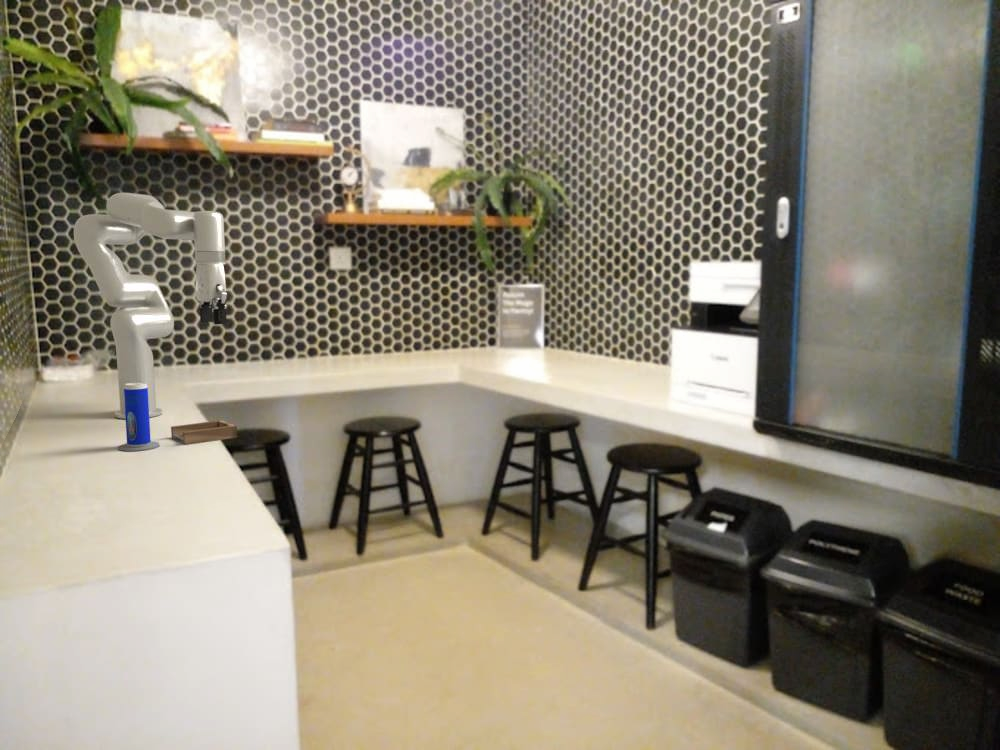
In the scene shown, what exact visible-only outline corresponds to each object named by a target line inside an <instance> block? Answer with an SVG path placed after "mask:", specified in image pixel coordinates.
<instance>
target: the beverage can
mask: <svg viewBox="0 0 1000 750" xmlns="http://www.w3.org/2000/svg"><path fill="white" fill-rule="evenodd" d="M124 401H125V418H126V419H125V430H126V432H125V433H126V434H125V435H126V443H127V444H128V446H130V447H143V446H147V445H149V444H150V442H151V441H152V440H151V426H150V425H151V424H150V417H149V403H148V387H147V384H146V383H127V384H125V386H124Z"/></svg>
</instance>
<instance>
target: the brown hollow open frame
mask: <svg viewBox="0 0 1000 750" xmlns="http://www.w3.org/2000/svg"><path fill="white" fill-rule="evenodd" d="M237 428H238V427H237V425H235V424H233V423H231V422H228V421H225V420H223V419H221V420H211V421H205V422H196V423H189V424H180V425H173V426H170V429H171V430H170V431H171V433H170V435H171V439H172V440H175V441H176V442H178V443H181V444H183V445H184V446H188V445H194V444H201V443H207V442H213V441H215V442H216V441H222V440H229V439H235V438H238V429H237Z"/></svg>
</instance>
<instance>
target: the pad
mask: <svg viewBox="0 0 1000 750" xmlns="http://www.w3.org/2000/svg"><path fill="white" fill-rule="evenodd" d="M159 447H160V443H159V442H157V441H154V440H153V441H152V440H151V442H150V444H149V445H147V446H143V447H130V446H128V444H127V442H126V443H123V444H119V445H118V447H117V449H118V451H121V452H129V453H131V452H143V451H149V450H154V449H157V448H159Z"/></svg>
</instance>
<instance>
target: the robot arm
mask: <svg viewBox="0 0 1000 750" xmlns="http://www.w3.org/2000/svg"><path fill="white" fill-rule="evenodd" d="M105 207H106V210H107V213H108V214H100V213H91V214H86V215H82V216H80V217H79V218H78V219H77V220H76V221H75V223H74V226H73V239H74V244H75V246H76V248H77V251H78V253H79V254H80V255H81V256H80V257H81V258H83V260H84V262H85V263H86V265H87V266H88V268H89V270H90V272H91V274H92V277H93V278H94V280H95V283H96V285H97V287H98V289H99V292H100V293H101V295H102V298H103V299H104V301H105V302H106V304H107V305H108V306H110V307H111V308H112V307H113V308H119V309H118V310H116V311H114V313H112V315H111V317H110V321H109V322H110V323H109V324H110V328H111V329H110V330H111V333H112V336H113V339H114V344H115V352H116V353H115V354H116V365H117V367H116V368H117V378H118V380H117V381H118V393H119V408H120V409H119V410H117V411H115V412H114V418H117V419H123V420H126V418H125V401H124V386H125V384H127V383H146V384H147V387H148V403H149V418H154V417H157V416H160V415H162V414H163V409H162V408H159V407H157V400H156V399H157V398H156V383H155V381H156V380H155V367H154V366H155V365H154V354H153V351H152V349H151V347H150V345H148V343H147V341H146V340H150V339H151V340H152V339H161V338H165V337H168V336H170V335H171V333H173V331H174V327H175V322H174V320H175V319H174V317H173V313H172V311H171V309H170V307H169V305H168V303H167V301H166V299H165V296H164V294H163V291H162V290H161V287H160V286H159V285H158V282H156V280H155V279H153V277H151V276H149V275H147V274H130V273H129V272H128V271H127V270H126V268H125V267H124V264H123V262H122V260H121V259H120V257H119V256H118V255H117V254H116V253H115V252H114V251H112V249H110V248H108V247H107V245H118V246H119V245H122V246H127V245H129V246H130V245H134V244H136V243H138V242H140V241H141V239H143V237H144V236H146V235H147V234H149V235H151V236H155V237H158V238H162V239H167V240H184V241H185V240H186V241H194V243H193V244H194V259H195V265H196V268H195V269H196V271H195V298H196V300H197V301H199V305H198V307H199V317H200V318H199V319H200V323H212V322H213V324H214V325H226V324H227V319H228V318H227V296H228V293H227V285H226V282H227V281H226V275H225V274H226V273H225V268H224V265H226V263H227V262H226V246H225V243H226V242H225V241H226V240H225V223H224V222H225V221H224V215H223V214H222V213H221V212H219V211H213V210H211V211H209V210H208V211H207V210H201V211H186V210H177V209H176V210H175V209H165V207H164V206H163V204H162V203H161V202H160V201H158V199H157V198H156V197H155V196H152V195H150V194H149V195H148V194H141V193H132V192H117V193H115V194H113V195H111V196H110V197H108V199H107V201H106V206H105ZM212 304H213V306H212ZM213 307H214V308H213Z"/></svg>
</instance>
